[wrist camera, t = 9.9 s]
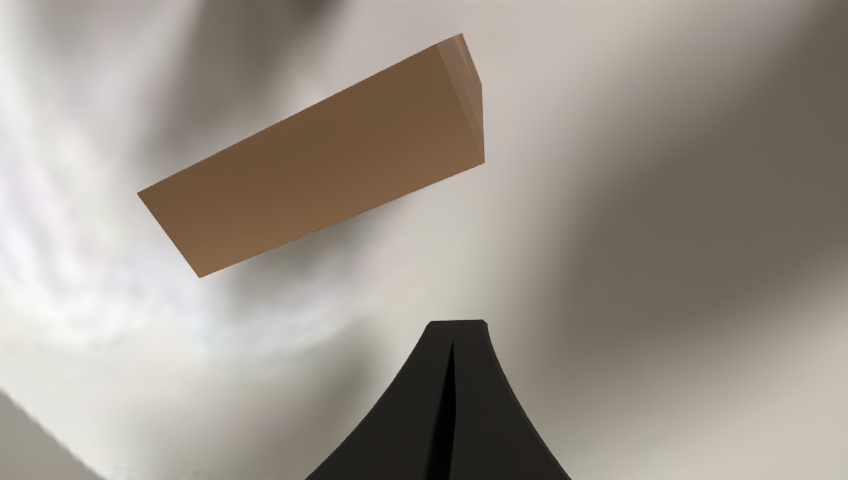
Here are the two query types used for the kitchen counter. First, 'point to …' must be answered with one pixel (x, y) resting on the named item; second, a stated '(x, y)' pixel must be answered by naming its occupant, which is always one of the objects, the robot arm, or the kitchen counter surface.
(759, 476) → the kitchen counter surface
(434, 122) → the domino
